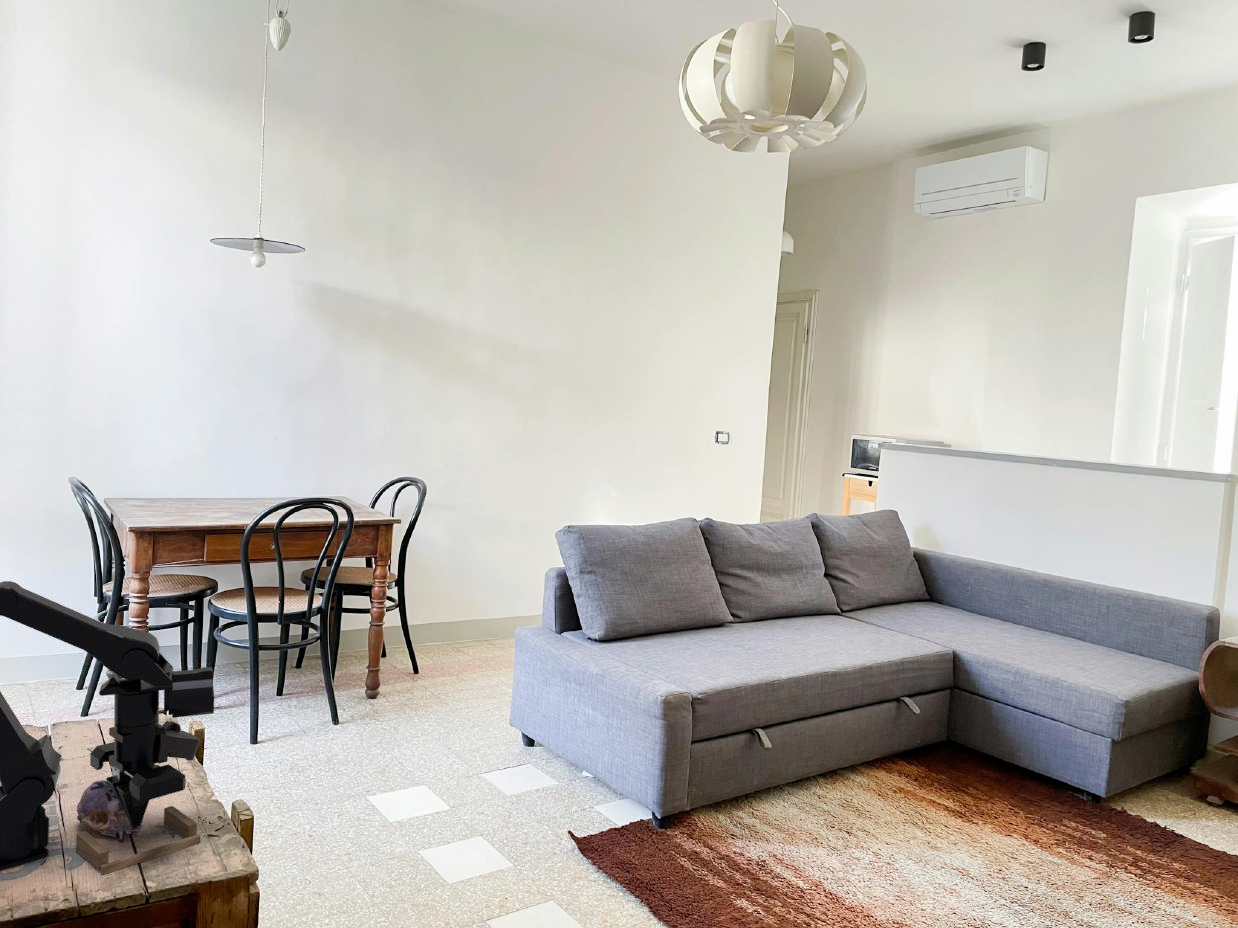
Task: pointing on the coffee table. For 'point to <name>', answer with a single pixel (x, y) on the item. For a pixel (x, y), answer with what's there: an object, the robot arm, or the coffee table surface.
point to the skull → (103, 810)
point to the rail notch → (100, 855)
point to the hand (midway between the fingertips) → (136, 825)
